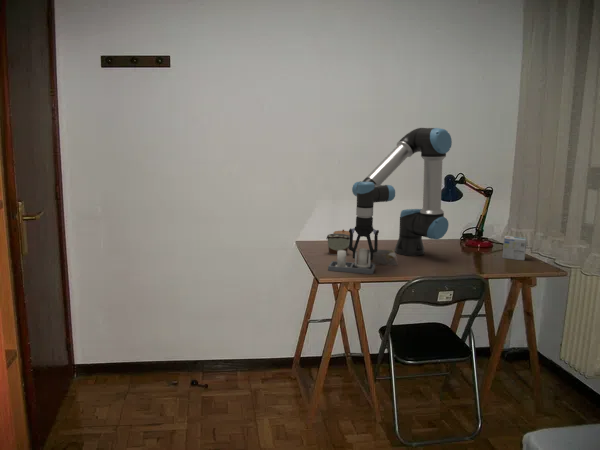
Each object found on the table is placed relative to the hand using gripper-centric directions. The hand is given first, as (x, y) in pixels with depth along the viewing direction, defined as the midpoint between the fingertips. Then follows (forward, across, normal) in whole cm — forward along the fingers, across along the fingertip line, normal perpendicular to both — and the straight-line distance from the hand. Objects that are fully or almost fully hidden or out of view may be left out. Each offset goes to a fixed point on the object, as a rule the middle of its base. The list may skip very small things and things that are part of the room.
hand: (362, 265), depth 233 cm
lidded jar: (+2, +16, -44) cm, 46 cm away
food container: (+2, +16, -28) cm, 32 cm away
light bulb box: (+2, -72, -44) cm, 85 cm away
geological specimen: (+3, -7, -17) cm, 19 cm away
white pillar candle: (0, 0, 0) cm, 0 cm away
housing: (+2, +5, 0) cm, 5 cm away
